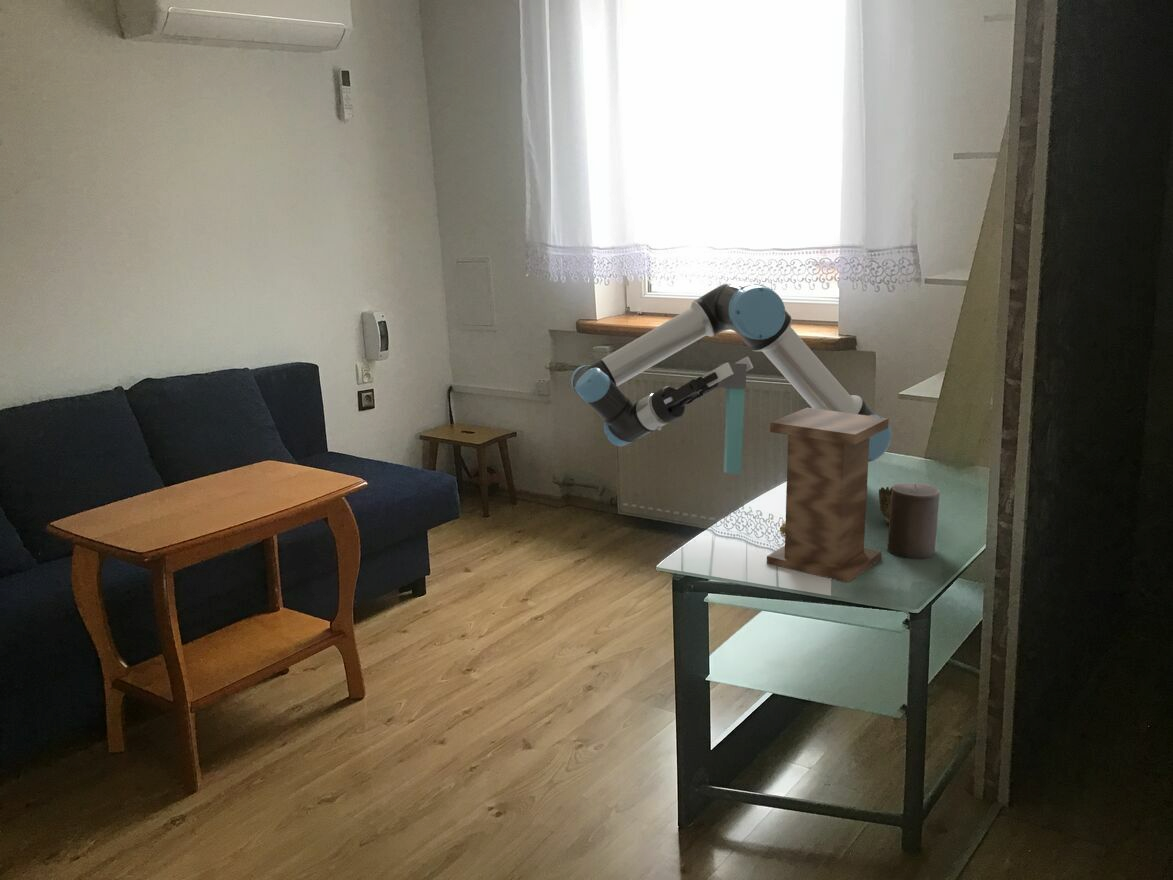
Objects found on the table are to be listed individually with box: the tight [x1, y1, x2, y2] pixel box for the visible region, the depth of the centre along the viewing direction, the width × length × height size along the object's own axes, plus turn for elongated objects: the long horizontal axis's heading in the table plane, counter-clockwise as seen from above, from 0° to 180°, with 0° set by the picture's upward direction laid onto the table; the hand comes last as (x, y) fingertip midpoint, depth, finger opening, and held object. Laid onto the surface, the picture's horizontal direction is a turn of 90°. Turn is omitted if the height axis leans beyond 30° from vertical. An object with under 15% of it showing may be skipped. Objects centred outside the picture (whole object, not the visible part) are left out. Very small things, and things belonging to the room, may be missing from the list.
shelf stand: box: [766, 407, 890, 583], centre depth 214 cm, size 18×16×30 cm
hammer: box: [717, 362, 747, 475], centre depth 222 cm, size 23×5×5 cm
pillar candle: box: [887, 482, 941, 559], centre depth 221 cm, size 10×10×15 cm
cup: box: [878, 486, 893, 526], centre depth 238 cm, size 8×7×8 cm
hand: (740, 365), depth 220 cm, fingers closed on hammer, 8 cm apart
